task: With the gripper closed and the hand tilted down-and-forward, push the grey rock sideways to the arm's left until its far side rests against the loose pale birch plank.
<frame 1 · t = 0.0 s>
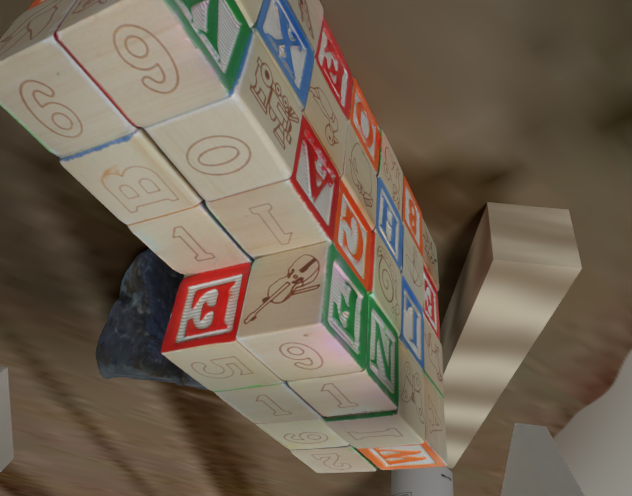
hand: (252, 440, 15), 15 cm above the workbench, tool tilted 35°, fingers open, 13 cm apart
plank: (464, 340, 40), on the workbench
energy drink can: (421, 461, 58), on the workbench
stack of blocks: (306, 118, 26), on the workbench
rock: (203, 299, 39), on the workbench
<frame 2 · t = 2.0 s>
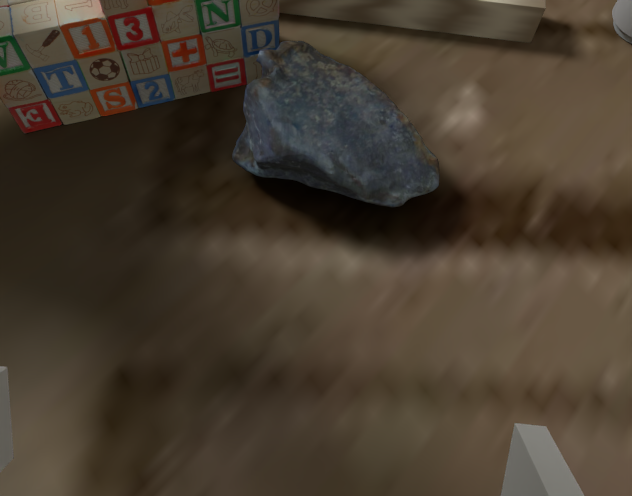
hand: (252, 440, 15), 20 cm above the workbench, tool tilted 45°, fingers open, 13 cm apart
plank: (376, 12, 53), on the workbench
stack of blocks: (151, 81, 49), on the workbench
rock: (333, 164, 45), on the workbench
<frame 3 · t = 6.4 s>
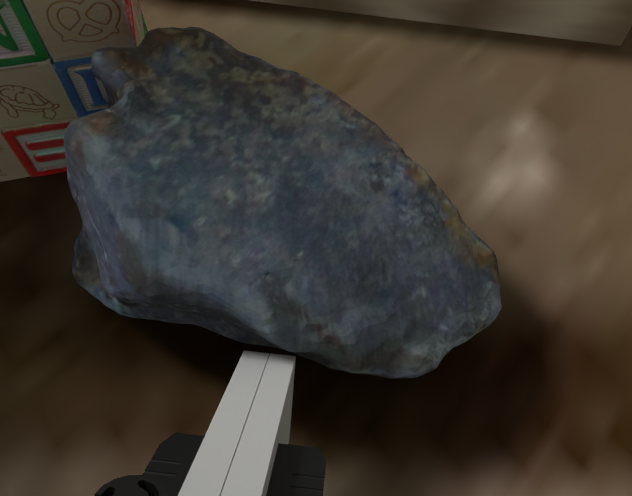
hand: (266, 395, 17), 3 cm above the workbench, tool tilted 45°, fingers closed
rock: (285, 264, 23), on the workbench, touching gripper
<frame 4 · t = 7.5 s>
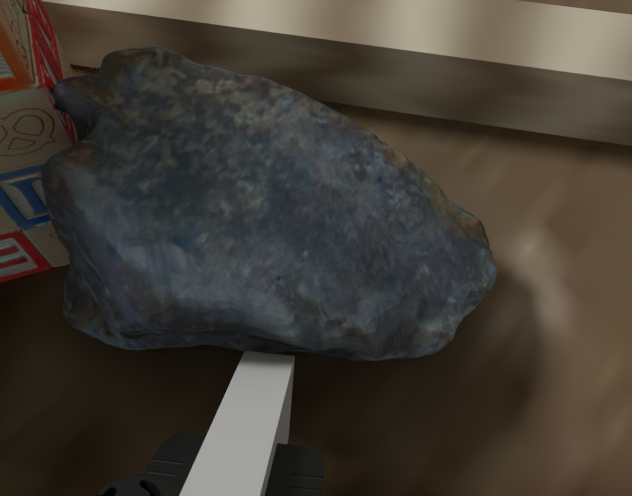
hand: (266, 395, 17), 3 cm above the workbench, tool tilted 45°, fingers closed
plank: (339, 77, 28), on the workbench
rock: (276, 269, 23), on the workbench, touching gripper
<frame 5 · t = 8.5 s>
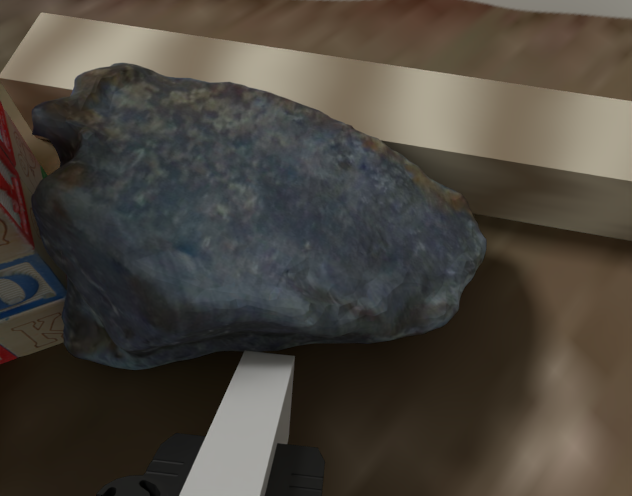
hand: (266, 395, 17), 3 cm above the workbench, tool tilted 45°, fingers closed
plank: (344, 158, 26), on the workbench, touching rock
rock: (269, 271, 23), on the workbench, touching gripper, plank, stack of blocks
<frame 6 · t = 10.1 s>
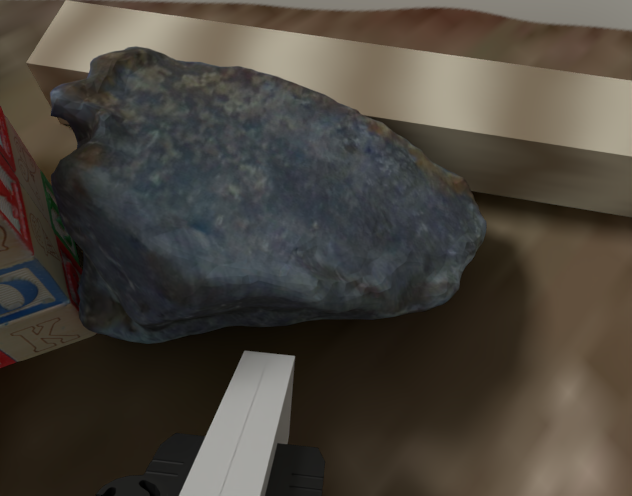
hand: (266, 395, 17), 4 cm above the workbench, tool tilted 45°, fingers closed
plank: (362, 142, 27), on the workbench
rock: (275, 251, 24), on the workbench
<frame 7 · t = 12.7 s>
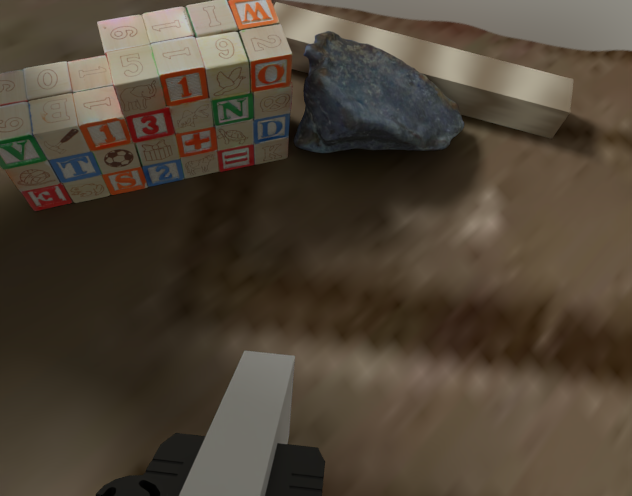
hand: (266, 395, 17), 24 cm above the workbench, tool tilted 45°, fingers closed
plank: (408, 86, 55), on the workbench
stack of blocks: (160, 157, 50), on the workbench
rock: (368, 129, 52), on the workbench
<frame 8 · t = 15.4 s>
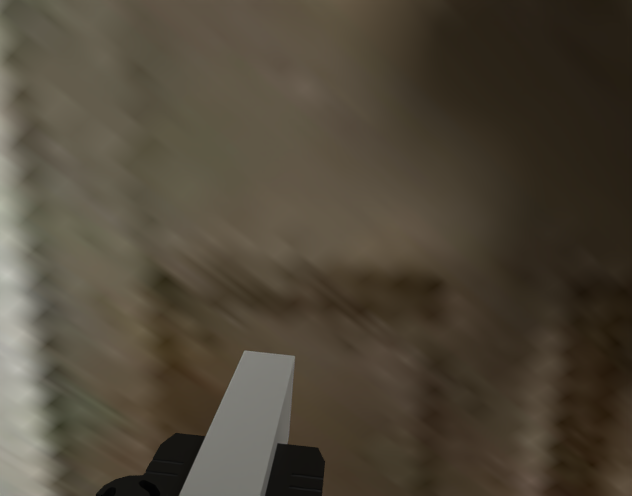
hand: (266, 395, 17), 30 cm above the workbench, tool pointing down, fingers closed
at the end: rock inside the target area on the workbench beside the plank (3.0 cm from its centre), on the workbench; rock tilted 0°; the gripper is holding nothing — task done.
